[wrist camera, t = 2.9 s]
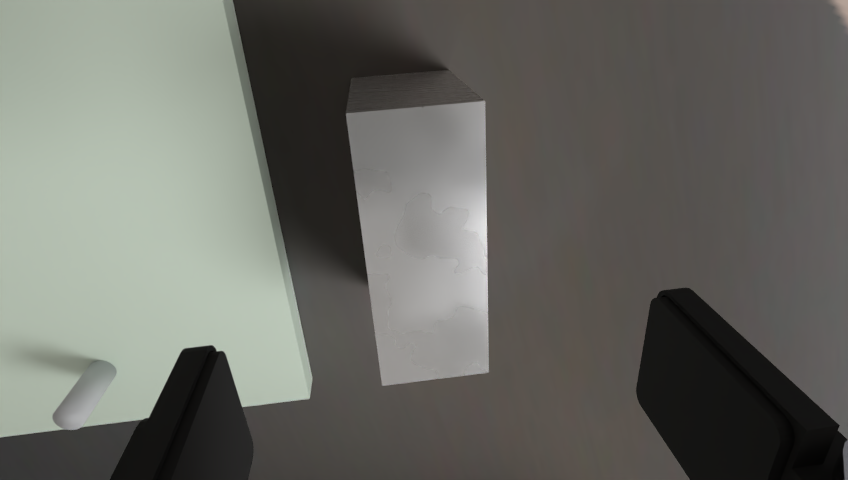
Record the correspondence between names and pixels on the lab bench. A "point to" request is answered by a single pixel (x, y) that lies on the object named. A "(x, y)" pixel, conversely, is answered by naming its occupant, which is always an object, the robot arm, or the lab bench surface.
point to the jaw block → (423, 221)
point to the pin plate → (134, 213)
